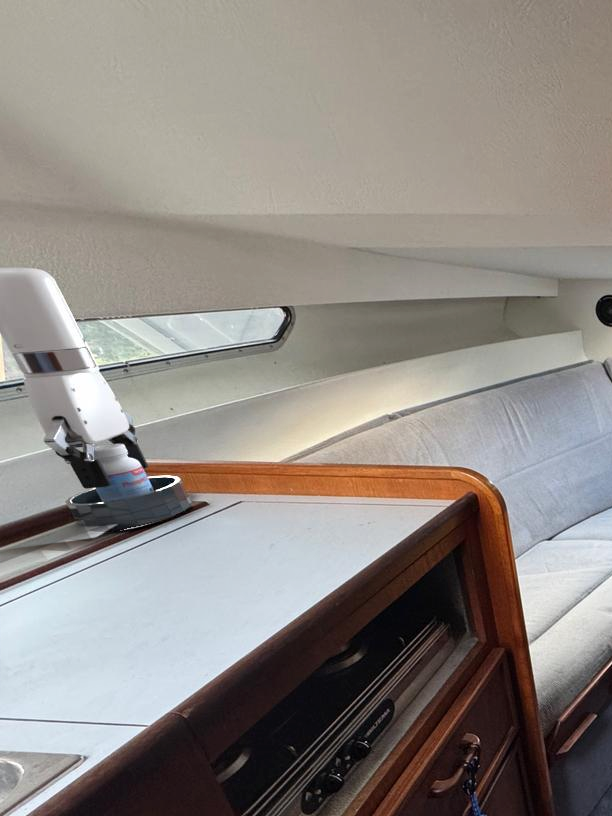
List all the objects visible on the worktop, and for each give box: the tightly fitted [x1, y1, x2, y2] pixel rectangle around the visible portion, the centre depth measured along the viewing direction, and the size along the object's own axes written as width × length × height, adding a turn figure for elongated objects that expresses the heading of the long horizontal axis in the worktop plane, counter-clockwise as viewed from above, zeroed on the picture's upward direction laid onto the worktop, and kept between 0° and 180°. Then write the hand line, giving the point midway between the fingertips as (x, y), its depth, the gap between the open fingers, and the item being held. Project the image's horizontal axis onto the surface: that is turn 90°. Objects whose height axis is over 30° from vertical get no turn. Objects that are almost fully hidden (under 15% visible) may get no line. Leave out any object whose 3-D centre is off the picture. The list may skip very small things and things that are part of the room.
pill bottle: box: [94, 443, 154, 502], centre depth 88 cm, size 6×6×11 cm
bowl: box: [64, 475, 193, 534], centre depth 90 cm, size 13×13×5 cm
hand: (118, 477), depth 88 cm, fingers open, 8 cm apart
